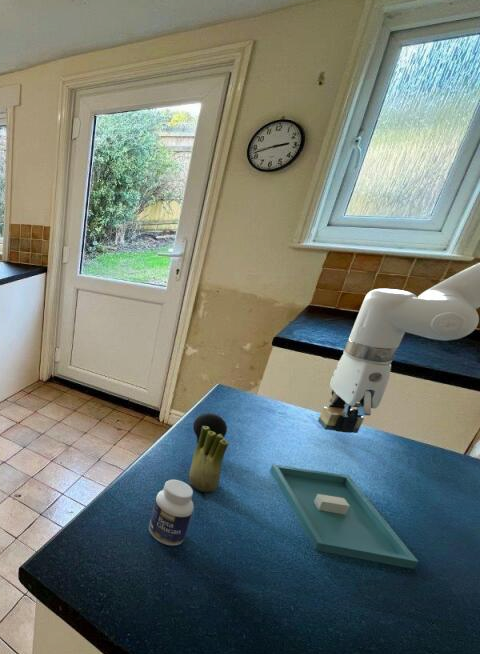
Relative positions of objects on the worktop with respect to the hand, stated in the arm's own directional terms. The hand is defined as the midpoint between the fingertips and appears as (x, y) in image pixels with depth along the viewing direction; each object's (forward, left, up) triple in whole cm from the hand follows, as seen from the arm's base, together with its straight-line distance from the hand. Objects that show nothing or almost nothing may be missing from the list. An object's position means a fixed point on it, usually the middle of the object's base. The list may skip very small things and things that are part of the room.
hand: (337, 425), depth 92 cm
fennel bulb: (+32, +27, -2) cm, 42 cm away
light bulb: (+30, +17, -2) cm, 35 cm away
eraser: (0, 0, 0) cm, 0 cm away
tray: (+12, +29, -2) cm, 31 cm away
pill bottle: (+40, +41, -2) cm, 58 cm away
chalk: (+12, +28, -2) cm, 31 cm away
